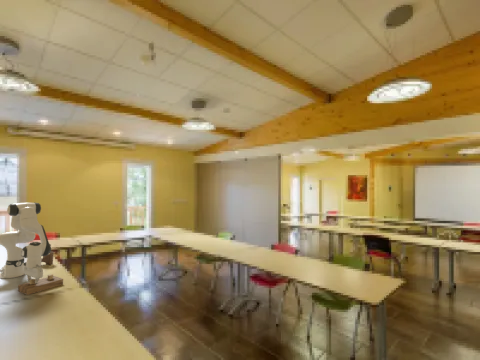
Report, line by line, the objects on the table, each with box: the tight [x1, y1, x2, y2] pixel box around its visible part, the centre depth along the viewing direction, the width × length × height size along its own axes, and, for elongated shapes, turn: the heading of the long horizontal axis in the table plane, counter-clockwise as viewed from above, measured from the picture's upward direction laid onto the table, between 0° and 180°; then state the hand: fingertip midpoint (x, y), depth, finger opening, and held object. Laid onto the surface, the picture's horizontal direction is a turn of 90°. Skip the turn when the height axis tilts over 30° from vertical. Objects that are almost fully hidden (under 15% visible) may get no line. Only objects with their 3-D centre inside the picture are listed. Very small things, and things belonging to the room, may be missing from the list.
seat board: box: [17, 275, 64, 296], centre depth 197 cm, size 14×24×4 cm, turn 154°
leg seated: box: [47, 274, 54, 281], centre depth 202 cm, size 4×4×8 cm
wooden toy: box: [41, 243, 54, 266], centre depth 252 cm, size 16×7×25 cm, turn 129°
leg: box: [29, 278, 36, 286], centre depth 191 cm, size 4×4×8 cm
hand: (32, 282), depth 191 cm, fingers open, 8 cm apart
